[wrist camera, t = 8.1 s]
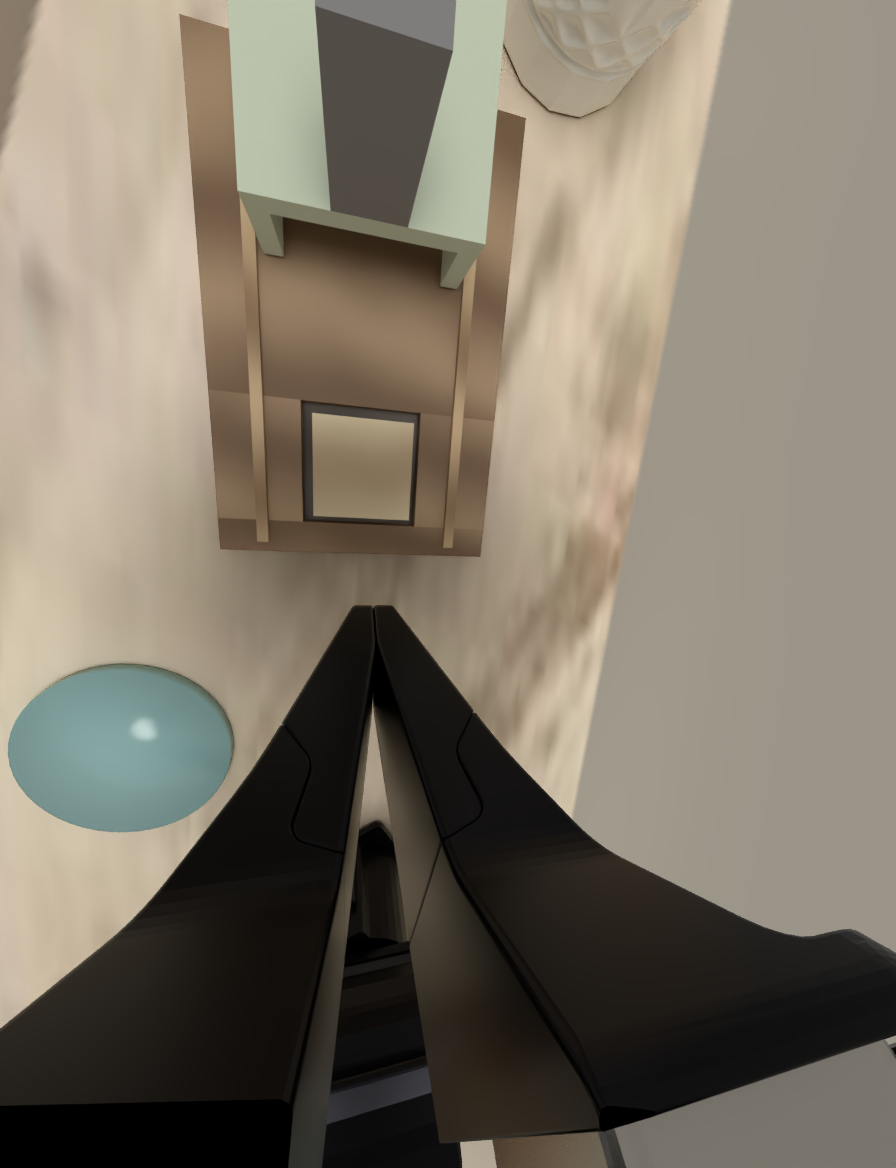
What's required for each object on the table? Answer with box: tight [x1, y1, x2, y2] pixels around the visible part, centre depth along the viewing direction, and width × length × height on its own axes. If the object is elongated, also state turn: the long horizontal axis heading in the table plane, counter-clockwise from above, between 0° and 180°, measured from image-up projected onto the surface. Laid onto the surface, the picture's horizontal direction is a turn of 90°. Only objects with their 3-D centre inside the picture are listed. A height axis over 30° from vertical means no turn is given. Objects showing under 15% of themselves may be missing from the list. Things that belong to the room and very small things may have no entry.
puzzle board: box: [179, 14, 526, 557], centre depth 19 cm, size 19×13×1 cm
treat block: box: [312, 413, 414, 520], centre depth 19 cm, size 4×4×4 cm
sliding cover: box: [227, 0, 507, 289], centre depth 12 cm, size 6×8×11 cm
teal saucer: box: [8, 664, 233, 832], centre depth 22 cm, size 10×10×1 cm
